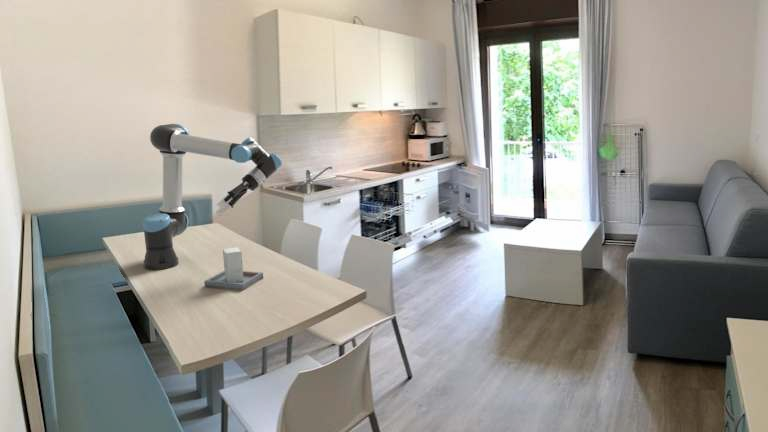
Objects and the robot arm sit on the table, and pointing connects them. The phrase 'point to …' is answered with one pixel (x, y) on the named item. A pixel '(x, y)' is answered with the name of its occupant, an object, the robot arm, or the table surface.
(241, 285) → the tray
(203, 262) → the table surface
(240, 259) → the small box
